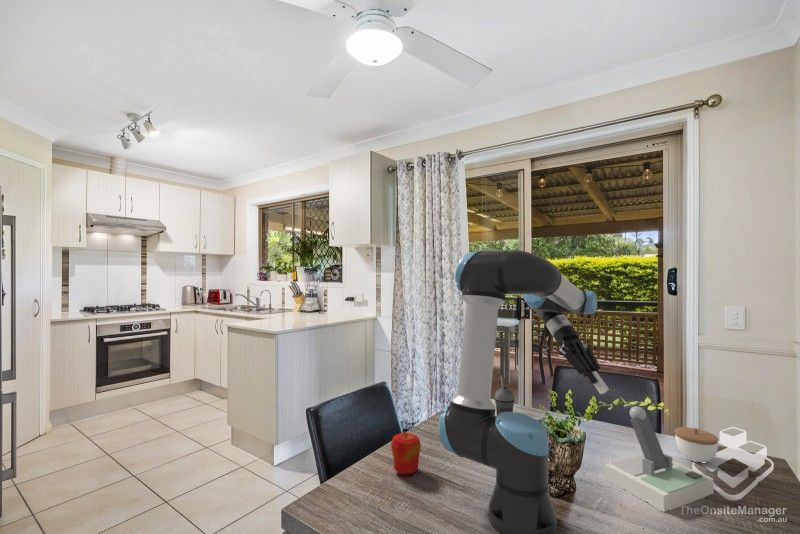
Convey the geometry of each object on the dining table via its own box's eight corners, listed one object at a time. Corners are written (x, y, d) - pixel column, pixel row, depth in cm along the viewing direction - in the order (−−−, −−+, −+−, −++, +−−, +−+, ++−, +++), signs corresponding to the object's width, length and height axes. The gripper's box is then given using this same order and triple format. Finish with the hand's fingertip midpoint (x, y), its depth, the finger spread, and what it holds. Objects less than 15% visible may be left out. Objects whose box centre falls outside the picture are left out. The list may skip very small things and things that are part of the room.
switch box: (605, 479, 107) (605, 452, 107) (652, 465, 115) (652, 440, 115) (663, 512, 92) (663, 480, 92) (713, 494, 100) (713, 464, 100)
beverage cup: (517, 434, 136) (517, 378, 137) (497, 434, 136) (496, 378, 137) (511, 426, 144) (511, 373, 144) (492, 426, 144) (492, 373, 144)
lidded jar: (678, 447, 127) (678, 419, 127) (720, 458, 119) (720, 428, 119) (671, 458, 119) (671, 428, 119) (715, 471, 111) (715, 439, 112)
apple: (397, 482, 105) (397, 439, 105) (386, 467, 113) (387, 427, 113) (425, 476, 108) (425, 434, 109) (413, 462, 116) (413, 423, 116)
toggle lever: (646, 470, 104) (622, 408, 110) (658, 467, 106) (634, 406, 112) (660, 471, 100) (634, 406, 107) (672, 467, 102) (646, 404, 109)
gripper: (554, 325, 129) (597, 388, 114) (582, 323, 135) (627, 383, 119) (542, 338, 134) (582, 400, 119) (570, 335, 139) (611, 395, 124)
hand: (604, 391), depth 119 cm, fingers closed
